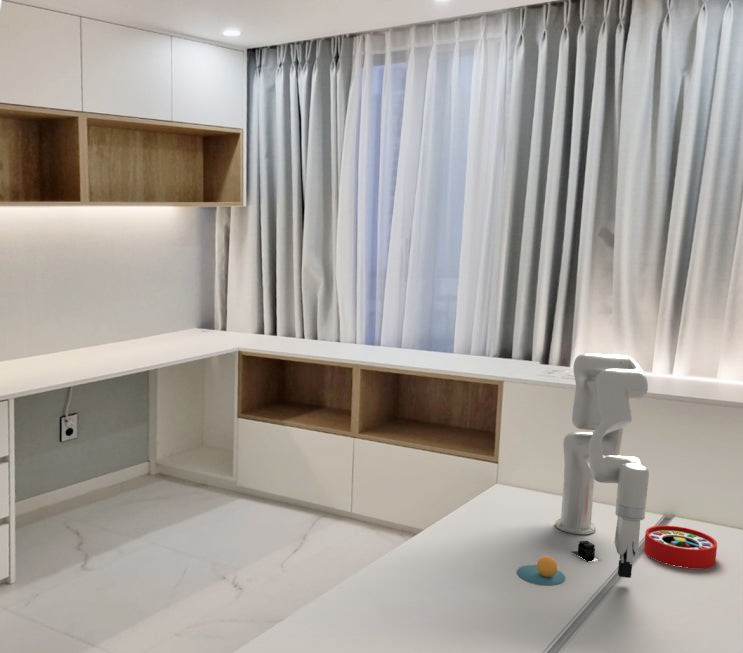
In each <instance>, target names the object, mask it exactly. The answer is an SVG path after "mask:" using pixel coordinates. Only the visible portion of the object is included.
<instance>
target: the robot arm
mask: <svg viewBox="0 0 743 653" xmlns="http://www.w3.org/2000/svg"><path fill="white" fill-rule="evenodd" d="M572 367H573V371H572V372H573V376H574V382H575V392H574V398H573V406H572V417H571V420H572V421H571V422H572V424H573V426H574V427H575V428H576V429H579V430H581V431H573V432H570V433H567V434H566V435H565V436H564V438H563V444H562V446H563V454H564V455H563V456H564V469H563V470H564V471H563V472H564V473H563V486H562V500H561V513H560V518H558V519H557V520H555V527H556V528H558V530H561V531H562V532H566V533H569V534H575V535H589V534H593V533H595V532H596V525H595V524H594V523H592V515H593V512H592V511H593V501H594V487H595V481H596V482H598V483H600V484H601V483H602V484H617V489H616V490H617V492H616V502H615V504H616V505H615V513H614V514H615V516H617V518H616V520H617V521H616V525H615V526H616V527H615V535H614V547H615V550H616V552H617V554H618V555H619V560H618V568H617V574H618V577H620V578H621V577H622V578H626V579H627V578H628V579H631V578H632V571H633V569H632V568H633V557H637V556H638V552H639V545H640V544H639V542H640V534H641V533H640V530H641V521H644V520H645V518H646V508H647V497H648V488H649V486H648V485H649V476H650V472H649V469H648V468H647V467H646V466H645V465H644V464H643V462H642V460H641V459H640V458H639V457H637V456H632V455H631V456H630V455H628V456H627V455H620V451H621V445H622V439H623V433H624V432H623V431H624V428H625V427H627V426H629V425H630V424H631V423H632V418H633V417H632V411H631V404H630V399H636V400H637V399H638V400H639V399H643V398H644V397H646V395H647V393H648V389H649V383H648V379H647V375H646V374H645V372H644V370H643V369H642V368H641V366H640V365H639V364H638V362H636V361H635V359H634V358H632V357H631V356H628V355H625V354H624V355H623V354H621V355H620V354H603V353H582V354H579V355H577V356H576V357H575V359H574V361H573V366H572ZM582 430H583V431H582ZM588 464H589V465H588Z"/></svg>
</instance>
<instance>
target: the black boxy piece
mask: <svg viewBox="0 0 743 653" xmlns="http://www.w3.org/2000/svg"><path fill="white" fill-rule="evenodd" d="M595 547H596V545H595V544H594V543H592V542H590V541H589V540H581V541H579V542H578V545H577V550H572V551H571V553H572V554H574V555H575V554H576V555H575V556H577V555H578V556H580V557H582V558H583V559H585V560H586V561H587V563H589V562H588V561H592V560H594V562H596V561H595V560H599V559H600V558H598V557H597V556H595V553H596V548H595ZM578 556H577V557H578ZM580 557H579V558H580ZM582 558H581V559H582ZM583 559H582V560H583ZM585 560H584V561H585ZM586 561H585V562H586Z"/></svg>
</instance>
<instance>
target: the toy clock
mask: <svg viewBox="0 0 743 653" xmlns="http://www.w3.org/2000/svg"><path fill="white" fill-rule="evenodd" d="M643 545H644V546H643V551H644V553H645V554H646V556H648V557H650V558H651V557H652V558H651V559H653V558H654V559H656V560H655V561H657V560H658V561H657V562H659V561H661V562H663V563H662V564H664V563H667V564H666V565H668V564H670V565H669V566H671V565H675V566H682V567H688V568H704V569H708V568H712V567H714V566H715V565H716V561H717V549H718V542H717V540H716V539H715V538H713V537H712V536H711V535H709V534H706V533H705V532H701V531H700V530H695V529H692V528H689V527H683V526H682V527H681V526H675V525H655V526H651V527H650V526H649V527H648V528H646V529H645V536H644V544H643ZM654 559H653V560H654ZM661 562H660V563H661ZM675 566H674V567H675ZM688 568H687V569H688Z"/></svg>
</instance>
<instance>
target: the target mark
mask: <svg viewBox="0 0 743 653" xmlns="http://www.w3.org/2000/svg"><path fill="white" fill-rule="evenodd" d="M516 574H517V576H518V577H519V578H520V579H522V580H523V581H525V582H529V583H531V584H535V585H539V586H556V585H561V584H562V583H564V582H565V581H566V576H565V574H564V573H563V572H562V571H560V570H558V569H557V572H556V573H555V575H553V576H552V577H544V576H542V575H541V574H540V573H539V572H538V570H537V564H527V565H521V566H520V567H518V568H517V570H516Z"/></svg>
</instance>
